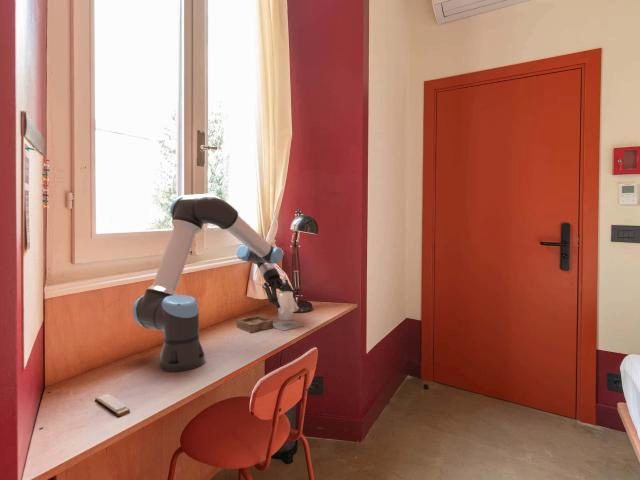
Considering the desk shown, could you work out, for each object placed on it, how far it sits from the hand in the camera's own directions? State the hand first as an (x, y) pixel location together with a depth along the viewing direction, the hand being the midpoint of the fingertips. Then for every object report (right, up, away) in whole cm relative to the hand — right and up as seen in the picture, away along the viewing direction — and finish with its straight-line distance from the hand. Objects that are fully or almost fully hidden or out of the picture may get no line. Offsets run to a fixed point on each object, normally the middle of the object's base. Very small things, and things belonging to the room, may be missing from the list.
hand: (290, 311), depth 176 cm
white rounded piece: (-1, -4, +2) cm, 4 cm away
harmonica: (-43, -13, -72) cm, 85 cm away
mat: (-2, -7, +3) cm, 8 cm away
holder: (-17, -8, +1) cm, 18 cm away
